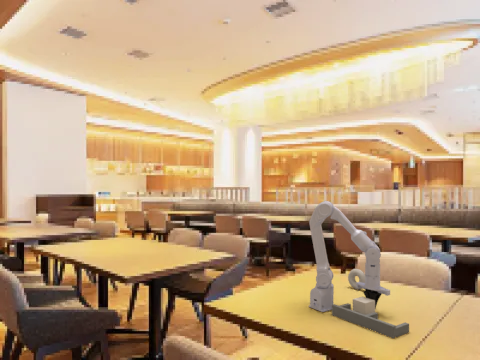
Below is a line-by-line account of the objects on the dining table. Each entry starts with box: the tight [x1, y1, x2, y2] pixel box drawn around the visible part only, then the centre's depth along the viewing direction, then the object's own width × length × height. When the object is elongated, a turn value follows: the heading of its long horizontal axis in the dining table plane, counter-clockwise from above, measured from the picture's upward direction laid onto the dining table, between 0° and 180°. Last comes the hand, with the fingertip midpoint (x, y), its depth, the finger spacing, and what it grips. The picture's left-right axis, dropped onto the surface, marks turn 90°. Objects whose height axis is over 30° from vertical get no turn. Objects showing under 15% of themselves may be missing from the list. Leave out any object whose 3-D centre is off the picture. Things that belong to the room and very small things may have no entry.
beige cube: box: [352, 296, 376, 315], centre depth 148 cm, size 6×6×6 cm
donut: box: [347, 268, 365, 291], centre depth 185 cm, size 10×4×10 cm, turn 36°
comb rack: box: [331, 302, 410, 339], centre depth 140 cm, size 10×26×4 cm, turn 35°
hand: (372, 309), depth 151 cm, fingers closed, pressing on beige cube
